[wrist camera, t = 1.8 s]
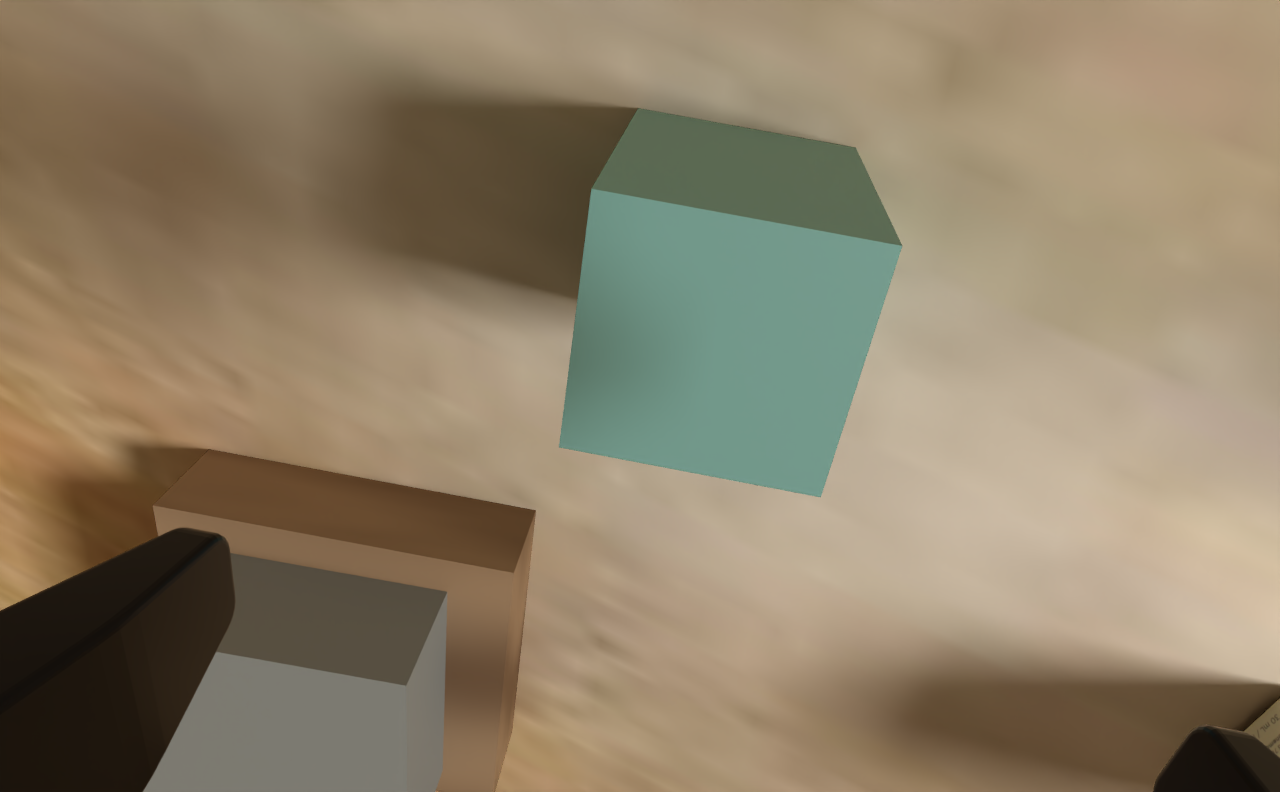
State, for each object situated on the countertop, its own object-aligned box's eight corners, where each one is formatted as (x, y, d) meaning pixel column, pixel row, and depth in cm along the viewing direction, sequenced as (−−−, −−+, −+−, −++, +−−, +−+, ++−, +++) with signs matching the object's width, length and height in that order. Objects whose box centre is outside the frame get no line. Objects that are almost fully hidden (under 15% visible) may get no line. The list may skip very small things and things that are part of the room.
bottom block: (515, 718, 28) (492, 801, 25) (246, 666, 28) (195, 744, 25) (539, 499, 23) (514, 572, 20) (218, 439, 23) (152, 505, 21)
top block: (442, 770, 24) (407, 871, 22) (207, 728, 25) (144, 823, 22) (447, 591, 21) (406, 685, 18) (173, 543, 21) (94, 630, 19)
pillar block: (801, 342, 19) (820, 497, 14) (609, 307, 20) (559, 447, 14) (855, 147, 17) (902, 246, 12) (638, 108, 17) (591, 188, 12)
